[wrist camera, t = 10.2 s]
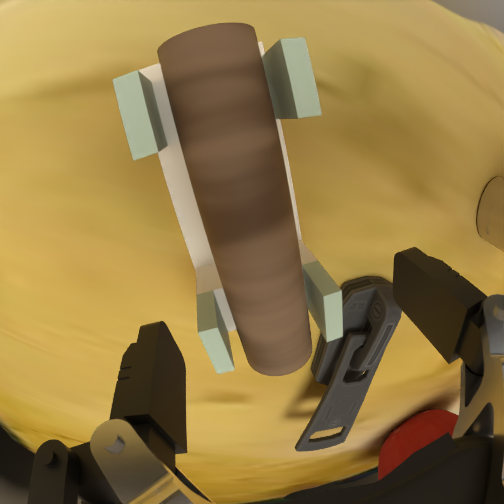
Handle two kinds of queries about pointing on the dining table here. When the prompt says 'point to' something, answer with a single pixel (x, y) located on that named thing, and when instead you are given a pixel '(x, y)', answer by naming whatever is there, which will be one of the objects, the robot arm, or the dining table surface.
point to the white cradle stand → (177, 178)
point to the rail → (241, 187)
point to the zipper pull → (351, 358)
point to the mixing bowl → (414, 437)
